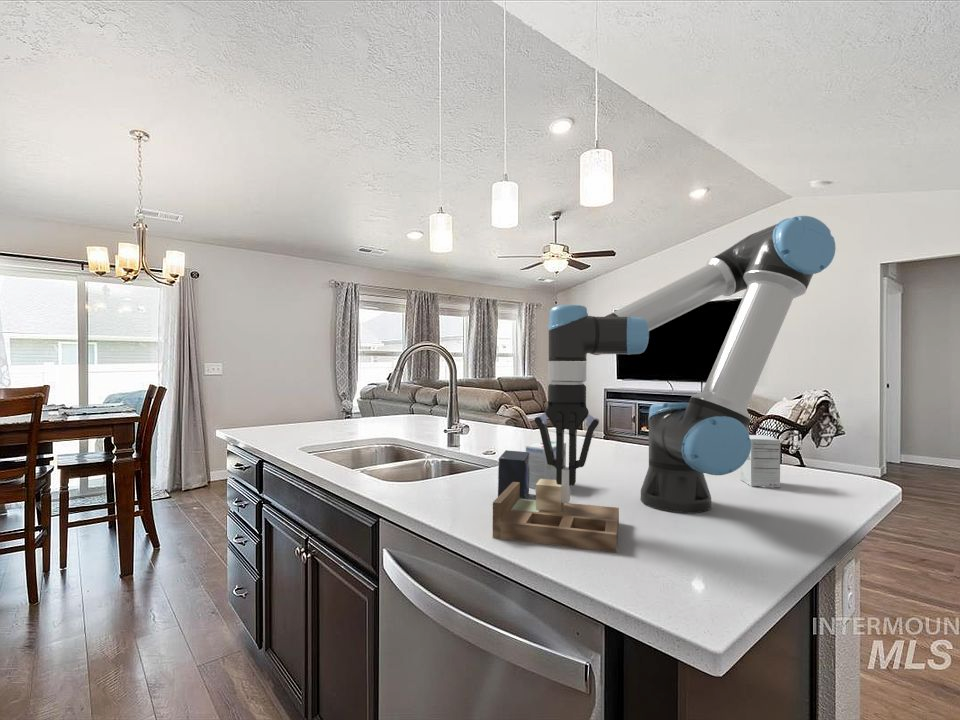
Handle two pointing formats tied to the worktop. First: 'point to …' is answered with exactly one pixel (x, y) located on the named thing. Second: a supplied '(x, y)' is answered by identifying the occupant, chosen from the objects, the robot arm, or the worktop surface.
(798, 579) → the worktop surface
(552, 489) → the maple block
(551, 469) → the light bulb box
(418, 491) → the worktop surface
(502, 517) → the tray
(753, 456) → the supplement box
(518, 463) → the small box
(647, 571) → the worktop surface
